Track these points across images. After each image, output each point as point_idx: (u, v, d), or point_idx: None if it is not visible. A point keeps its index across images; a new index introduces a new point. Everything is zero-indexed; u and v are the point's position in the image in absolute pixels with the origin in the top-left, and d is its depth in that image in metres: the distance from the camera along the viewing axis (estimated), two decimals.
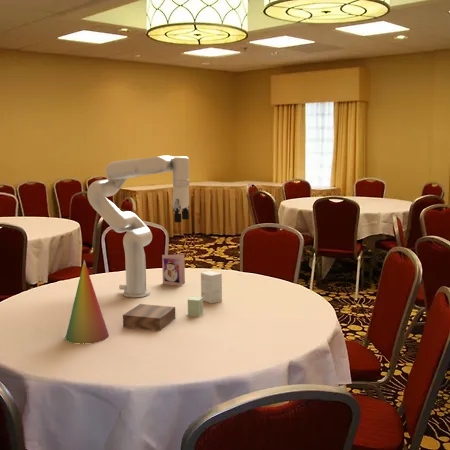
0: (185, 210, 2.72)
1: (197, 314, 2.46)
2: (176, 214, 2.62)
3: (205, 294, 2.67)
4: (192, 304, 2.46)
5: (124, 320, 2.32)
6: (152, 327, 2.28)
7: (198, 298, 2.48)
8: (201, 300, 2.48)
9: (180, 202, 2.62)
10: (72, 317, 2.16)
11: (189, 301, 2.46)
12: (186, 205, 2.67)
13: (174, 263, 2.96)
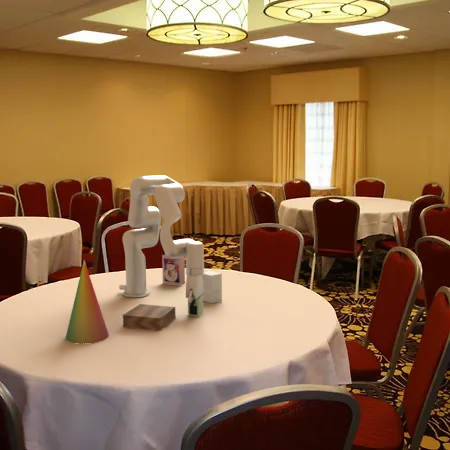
0: None
1: (197, 314, 2.46)
2: (191, 306, 2.44)
3: (205, 294, 2.67)
4: None
5: (124, 320, 2.32)
6: (152, 327, 2.28)
7: (198, 298, 2.48)
8: (201, 300, 2.48)
9: (194, 292, 2.42)
10: (72, 317, 2.16)
11: None
12: (200, 293, 2.47)
13: (174, 263, 2.96)
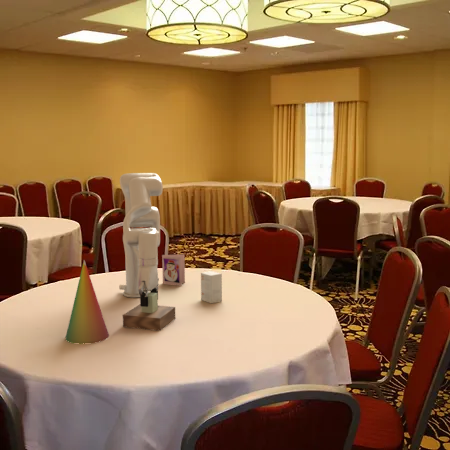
0: (154, 290, 2.40)
1: (151, 310, 2.34)
2: (142, 298, 2.30)
3: (205, 294, 2.67)
4: None
5: (124, 320, 2.32)
6: (152, 327, 2.28)
7: (152, 294, 2.36)
8: (155, 296, 2.36)
9: (147, 284, 2.30)
10: (72, 317, 2.16)
11: None
12: (154, 286, 2.35)
13: (174, 263, 2.96)
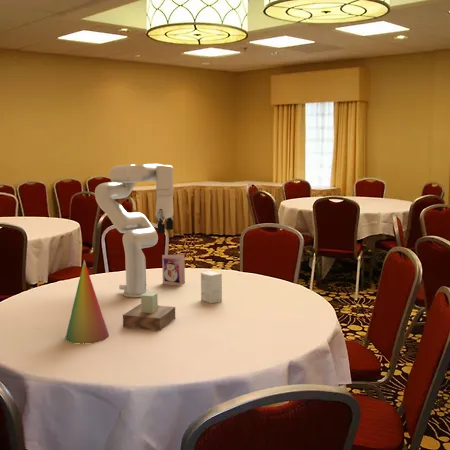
0: (169, 220, 2.64)
1: (151, 310, 2.34)
2: (159, 224, 2.54)
3: (205, 294, 2.67)
4: (145, 300, 2.34)
5: (124, 320, 2.32)
6: (152, 327, 2.28)
7: (152, 294, 2.36)
8: (155, 296, 2.36)
9: (163, 212, 2.54)
10: (72, 317, 2.16)
11: (142, 297, 2.34)
12: (170, 215, 2.59)
13: (174, 263, 2.96)
